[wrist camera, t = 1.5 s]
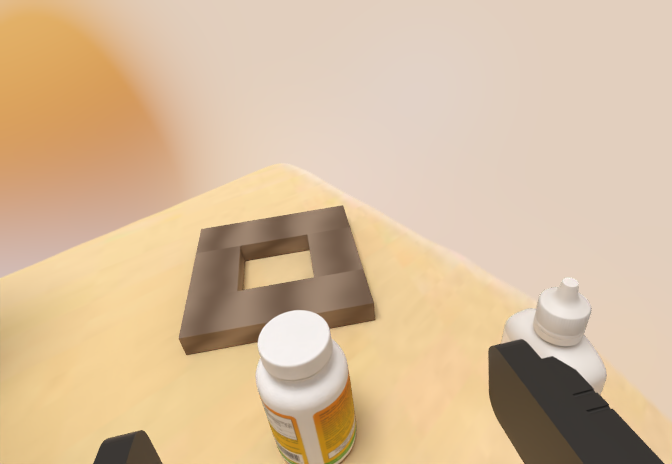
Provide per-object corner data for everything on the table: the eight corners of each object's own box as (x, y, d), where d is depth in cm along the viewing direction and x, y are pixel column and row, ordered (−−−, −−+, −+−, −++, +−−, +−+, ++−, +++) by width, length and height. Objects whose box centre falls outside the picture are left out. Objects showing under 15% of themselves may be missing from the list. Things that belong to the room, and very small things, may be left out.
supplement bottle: (352, 393, 31) (339, 294, 25) (361, 469, 26) (347, 370, 21) (278, 402, 31) (249, 306, 25) (275, 480, 26) (238, 384, 21)
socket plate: (186, 354, 35) (178, 338, 34) (206, 243, 48) (201, 229, 47) (375, 319, 36) (373, 303, 35) (344, 220, 49) (342, 205, 48)
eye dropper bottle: (507, 462, 26) (540, 325, 19) (488, 382, 30) (510, 248, 24) (584, 465, 25) (647, 324, 18) (553, 382, 30) (594, 246, 23)
